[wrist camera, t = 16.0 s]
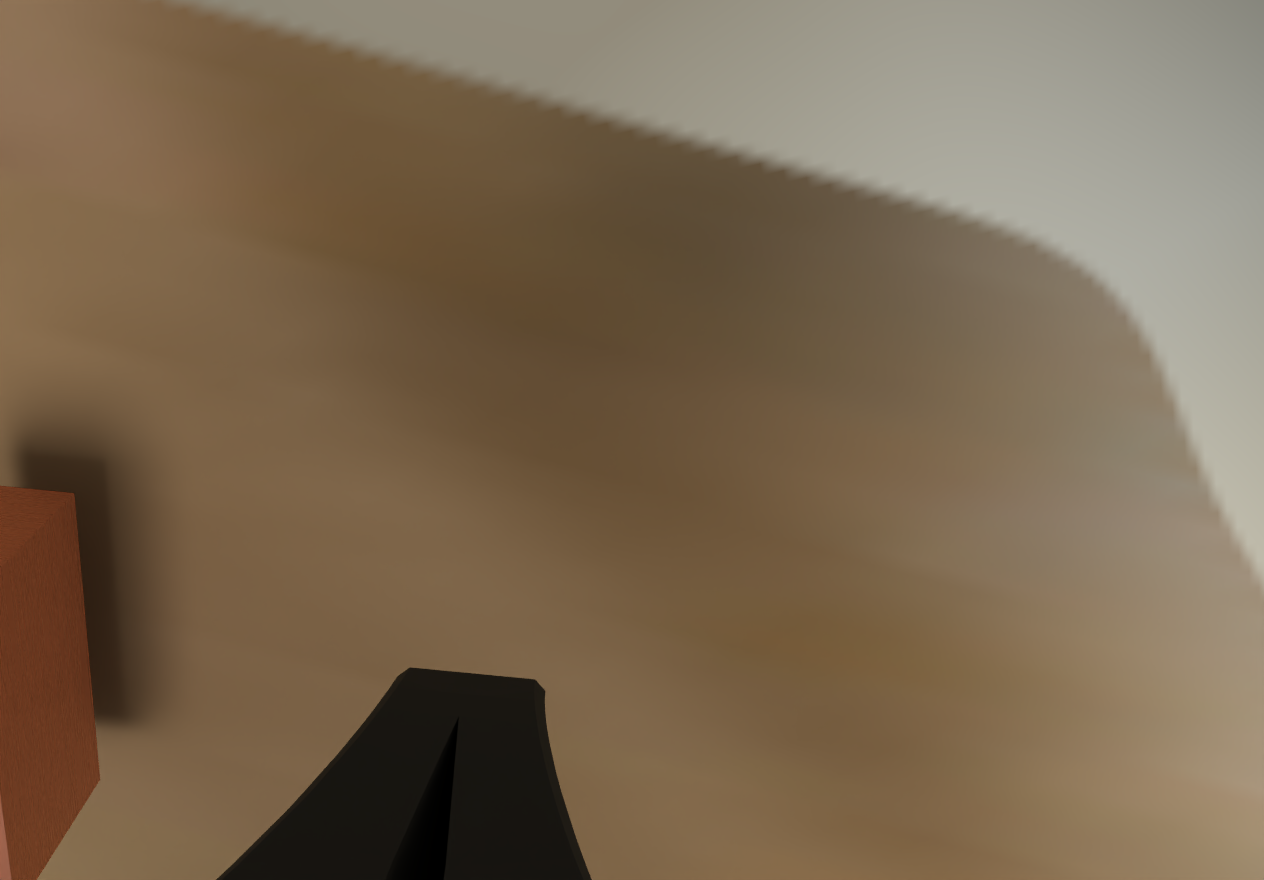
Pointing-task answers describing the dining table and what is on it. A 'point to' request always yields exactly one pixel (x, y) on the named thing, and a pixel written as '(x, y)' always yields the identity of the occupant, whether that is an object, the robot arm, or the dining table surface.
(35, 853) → the ram
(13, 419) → the dining table surface
